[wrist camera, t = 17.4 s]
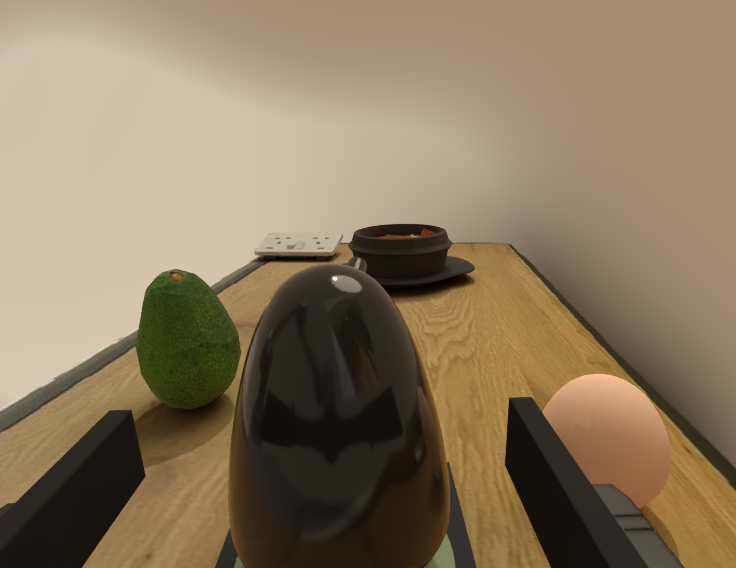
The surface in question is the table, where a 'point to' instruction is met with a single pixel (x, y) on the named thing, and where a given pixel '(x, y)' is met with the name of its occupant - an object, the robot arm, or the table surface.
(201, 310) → the avocado
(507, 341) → the table surface
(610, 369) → the table surface
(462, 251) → the table surface
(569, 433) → the egg
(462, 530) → the placemat
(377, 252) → the casserole
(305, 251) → the wall socket
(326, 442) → the pump dispenser
